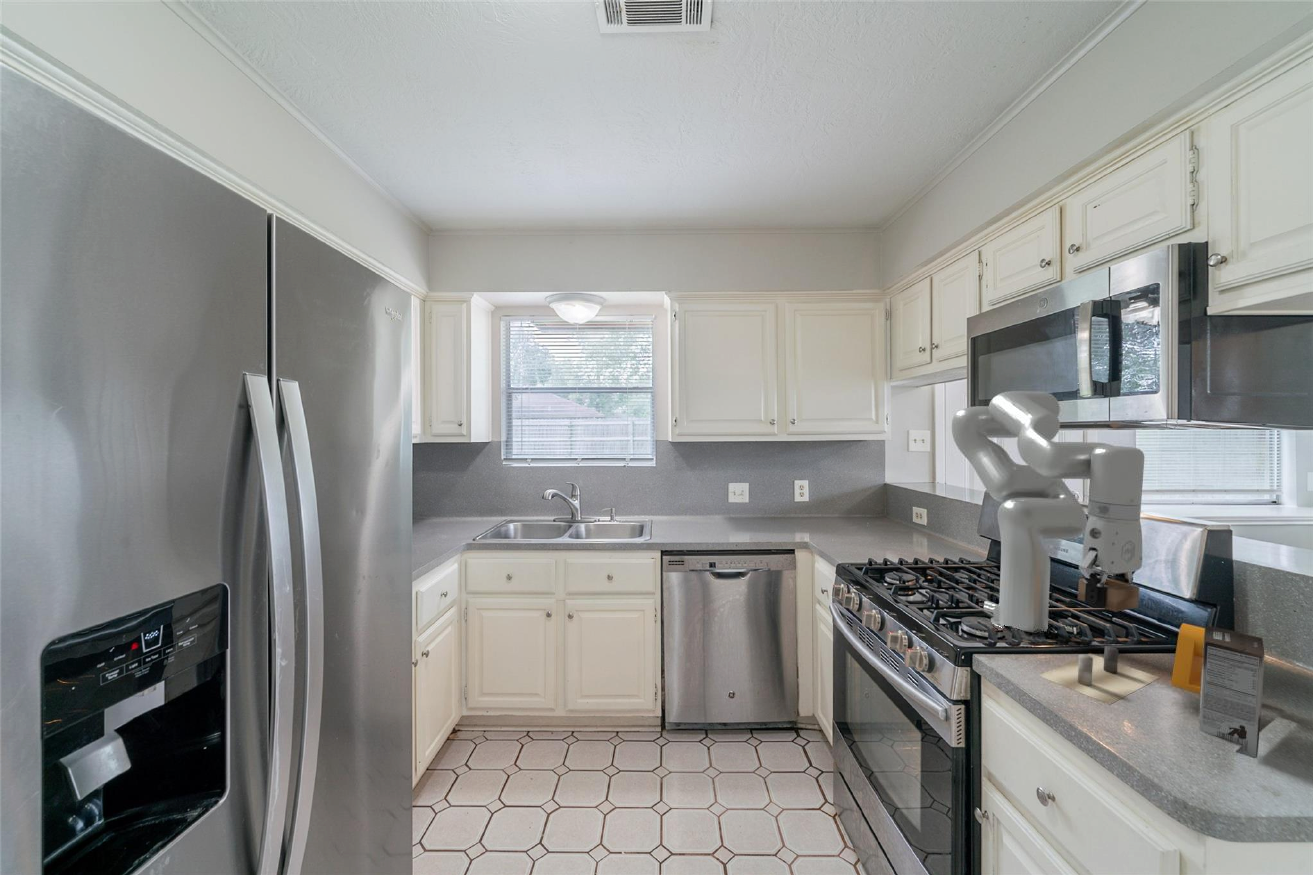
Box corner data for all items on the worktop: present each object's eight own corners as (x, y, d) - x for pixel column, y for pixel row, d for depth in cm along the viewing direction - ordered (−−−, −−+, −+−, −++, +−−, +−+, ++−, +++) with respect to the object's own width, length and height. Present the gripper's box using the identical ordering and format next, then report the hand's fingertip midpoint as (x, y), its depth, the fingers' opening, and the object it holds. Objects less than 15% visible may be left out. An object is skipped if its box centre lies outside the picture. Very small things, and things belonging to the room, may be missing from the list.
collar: (1115, 611, 96) (1117, 590, 95) (1077, 599, 102) (1078, 579, 101) (1137, 607, 98) (1139, 586, 97) (1099, 595, 104) (1100, 575, 103)
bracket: (1228, 712, 90) (1232, 644, 89) (1170, 693, 96) (1174, 629, 95) (1241, 694, 96) (1246, 630, 95) (1186, 677, 102) (1190, 617, 101)
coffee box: (1199, 717, 88) (1205, 624, 87) (1257, 734, 83) (1263, 636, 83) (1196, 739, 82) (1202, 639, 81) (1258, 759, 77) (1265, 654, 76)
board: (1038, 683, 99) (1039, 649, 99) (1089, 660, 108) (1091, 629, 108) (1109, 712, 89) (1111, 676, 89) (1159, 685, 98) (1161, 651, 98)
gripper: (1106, 518, 92) (1099, 616, 93) (1166, 512, 98) (1159, 604, 99) (1061, 510, 99) (1055, 601, 100) (1119, 504, 105) (1113, 591, 106)
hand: (1107, 602), depth 100 cm, fingers closed on collar, 6 cm apart
